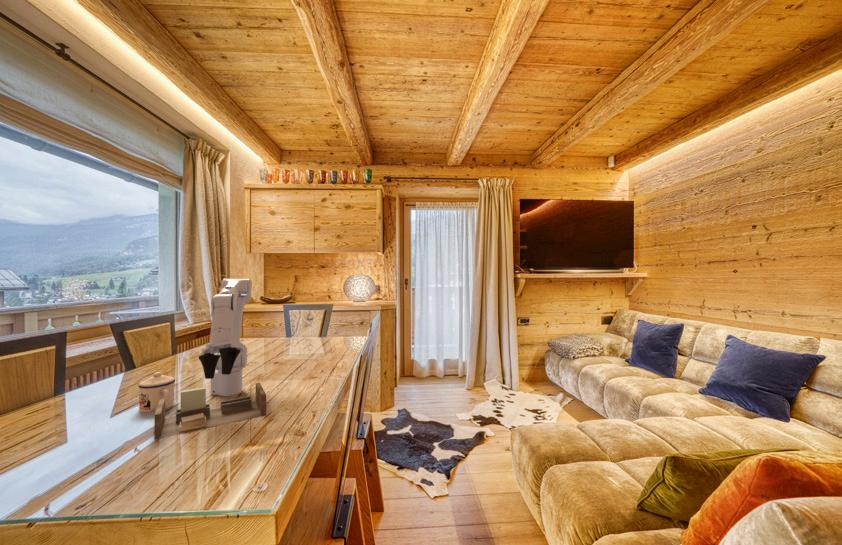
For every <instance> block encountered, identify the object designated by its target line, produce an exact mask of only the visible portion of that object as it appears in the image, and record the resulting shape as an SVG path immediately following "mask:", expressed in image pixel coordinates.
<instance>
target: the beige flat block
mask: <svg viewBox="0 0 842 545" xmlns="http://www.w3.org/2000/svg"><path fill="white" fill-rule="evenodd" d="M206 392H207V390H206V386H204V387H199V388H197V387H196V388H191V389H186V390H180V409H181V412H184V411H189V410H195V409H200V408H205V407H206V404H207V403H206V399H207V398H206V397H207V394H206Z"/></svg>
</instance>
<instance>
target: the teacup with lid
mask: <svg viewBox="0 0 842 545" xmlns="http://www.w3.org/2000/svg"><path fill="white" fill-rule="evenodd" d="M175 381H176V379H175V377H174V376H167V375H165V374H162V372H161V371H156V372H154V373H153V375H152V376H150V377H148V378H146V379H144V380H142V381H140V382H139V384H138V388H139V389H138V390H139V391H138V394H139V395H138V397H139V400H138V401H139V402H138V406H139V407H138V408H139V409H138V410H139V412H141V413H150V412H151V413H152V412H156V409H157V406H158V403H159V400H160V399H163V398H165V410H166V409H168V408H171V407H172V406H174V405H175Z"/></svg>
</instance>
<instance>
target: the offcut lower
mask: <svg viewBox="0 0 842 545" xmlns="http://www.w3.org/2000/svg"><path fill="white" fill-rule="evenodd" d="M204 426H206V417H205V421H203V422H199V423H195V424H191V425H187V426H183V427H182V424H181V422H180V424H179V432H181V431H185V430H190V429H195V428H199V427H204Z"/></svg>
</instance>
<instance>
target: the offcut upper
mask: <svg viewBox="0 0 842 545" xmlns="http://www.w3.org/2000/svg"><path fill="white" fill-rule="evenodd" d="M203 421H205V416H204V414H203V413H200V414H196V415H192V416H187V417H183V418H181V424H182V427H183V426H187V425H191V424H195V423H199V422H203Z"/></svg>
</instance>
